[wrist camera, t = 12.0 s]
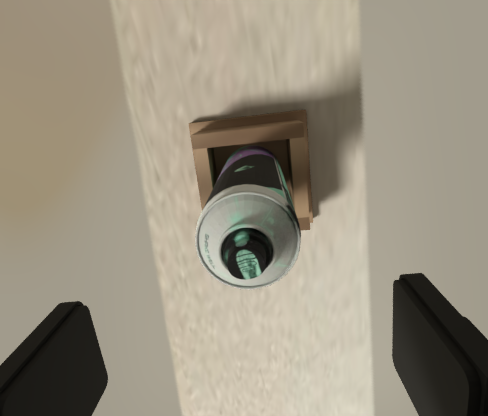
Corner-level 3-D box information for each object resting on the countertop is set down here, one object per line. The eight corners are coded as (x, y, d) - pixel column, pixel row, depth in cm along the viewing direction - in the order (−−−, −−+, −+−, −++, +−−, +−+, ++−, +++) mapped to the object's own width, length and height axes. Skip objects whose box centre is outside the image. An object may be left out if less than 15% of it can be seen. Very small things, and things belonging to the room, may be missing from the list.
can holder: (190, 123, 34) (179, 126, 30) (304, 109, 34) (312, 111, 29) (206, 229, 37) (199, 248, 33) (311, 219, 37) (319, 236, 32)
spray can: (250, 132, 33) (240, 177, 14) (292, 170, 34) (336, 261, 15) (213, 174, 35) (158, 267, 16) (254, 210, 36) (250, 340, 16)
